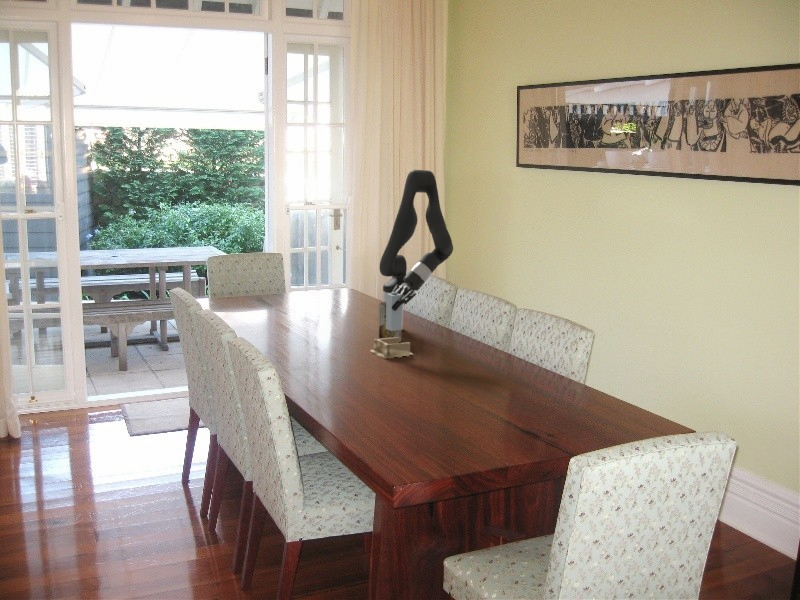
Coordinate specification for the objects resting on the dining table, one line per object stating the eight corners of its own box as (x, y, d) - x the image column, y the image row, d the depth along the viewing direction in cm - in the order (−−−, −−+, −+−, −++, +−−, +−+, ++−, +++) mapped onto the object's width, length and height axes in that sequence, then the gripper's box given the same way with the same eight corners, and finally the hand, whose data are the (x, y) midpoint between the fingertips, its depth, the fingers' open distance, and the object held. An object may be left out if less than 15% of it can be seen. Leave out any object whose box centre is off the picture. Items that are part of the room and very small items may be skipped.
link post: (385, 328, 349) (386, 292, 347) (395, 327, 351) (396, 291, 349) (391, 330, 345) (391, 294, 343) (401, 329, 348) (402, 293, 345)
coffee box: (401, 339, 374) (402, 302, 371) (399, 343, 368) (401, 305, 364) (380, 338, 375) (381, 301, 372) (378, 342, 368) (379, 304, 365)
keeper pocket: (370, 351, 352) (370, 339, 351) (398, 348, 358) (399, 336, 357) (383, 359, 342) (384, 345, 341) (413, 355, 348) (413, 342, 347)
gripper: (403, 267, 354) (375, 299, 350) (421, 272, 342) (392, 305, 338) (414, 279, 357) (387, 311, 354) (432, 285, 345) (404, 317, 342)
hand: (390, 308), depth 346 cm, fingers closed on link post, 4 cm apart
